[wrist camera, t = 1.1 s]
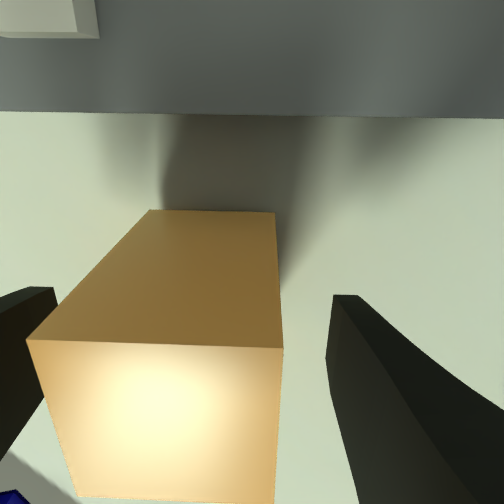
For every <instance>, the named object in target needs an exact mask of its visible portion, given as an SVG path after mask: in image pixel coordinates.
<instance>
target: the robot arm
mask: <svg viewBox="0 0 504 504" xmlns="http://www.w3.org/2000/svg"><path fill="white" fill-rule="evenodd" d="M57 306H58V303H57V300H56V296H55V292H54V288H53V287H31V286H30V287H27V288H24V289H21V290H18V291H15V292H12V293H10V294H7V295H5V296H2V297H0V461H1V459H2V458H3V456H4V455H5V454H6V452H7V451H8V449H9V448H10V446H11V445H12V444H13V442H14V441H15V439H16V438H17V436H18V435H19V433H20V432H21V431H22V429H23V428H24V426H25V425H26V423H27V422H28V420H29V419H30V417H31V416H32V415H33V413H34V412H35V410H36V409H37V407H38V406H39V404H40V403H41V401H42V400H43V398H44V394H43V391H42V388H41V384H40V381H39V378H38V375H37V372H36V369H35V366H34V363H33V360H32V357H31V354H30V351H29V348H28V345H27V342H26V339H27V338H28V337H29V336H30V335H31V334H32V332H33V331H34V330H35V329H36V328H37V327H38V326H39V325H40V324H41V323H42V322H43V321H44V320H45V319H46V318H47V317H48V316H49V315H50V314H51V313H52V311H53V310H54V309H55V308H56V307H57ZM325 359H326V366H327V373H328V380H329V387H330V394H331V398H332V402H333V406H334V409H335V413H336V417H337V421H338V424H339V428H340V432H341V436H342V439H343V443H344V447H345V450H346V454H347V458H348V461H349V465H350V469H351V472H352V476H353V480H354V483H355V487H356V492H357V496H358V500H359V504H504V410H503V409H501V408H500V407H498V406H497V405H495V404H494V403H492V402H491V401H489V400H488V399H486V398H485V397H483V396H482V395H480V394H479V393H477V392H476V391H474V390H473V389H471V388H470V387H469V386H467V385H466V384H464V383H463V382H462V381H460V380H459V379H457V378H456V377H455V376H453V375H452V374H451V373H450V372H448V371H447V370H446V369H444V368H443V367H442V366H440V365H439V364H438V363H436V362H435V361H434V360H433V359H431V358H430V357H429V356H428V355H426V354H425V353H424V352H423V351H421V350H420V349H419V348H418V347H417V346H415V345H414V344H413V343H412V342H411V341H409V340H408V339H407V338H406V337H405V336H404V335H402V334H401V333H400V332H399V331H398V330H397V329H395V328H394V327H393V326H392V325H391V324H390V323H389V322H388V321H386V320H385V319H384V318H383V317H382V316H381V315H380V314H379V313H378V312H376V311H375V310H374V309H373V308H372V307H371V306H370V305H369V304H368V303H366V302H365V301H364V300H363V299H362V298H361V297H359V296H358V295H333V302H332V310H331V318H330V326H329V334H328V341H327V349H326V357H325Z"/></svg>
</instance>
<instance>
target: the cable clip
mask: <svg viewBox="0 0 504 504" xmlns="http://www.w3.org/2000/svg"><path fill="white" fill-rule="evenodd" d="M0 504H31V503H30V502H28V501H27V499H26V498H25V497H24V496H23V495H22V494H21V493H20V492H19V491H18V490H16V489H14V490H9V491H5V492H0Z"/></svg>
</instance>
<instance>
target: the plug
mask: <svg viewBox="0 0 504 504" xmlns="http://www.w3.org/2000/svg"><path fill="white" fill-rule="evenodd" d="M26 342H27V345H28V348H29V351H30V354H31V357H32V360H33V363H34V366H35V369H36V372H37V375H38V378H39V381H40V384H41V388H42V391H43V394H44V397H45V400H46V403H47V406H48V409H49V412H50V415H51V418H52V421H53V424H54V427H55V430H56V433H57V436H58V440H59V443H60V446H61V449H62V452H63V455H64V458H65V461H66V464H67V467H68V470H69V473H70V476H71V479H72V482H73V485H74V488H75V492H76V495H77V497H98V498H119V499H140V500H161V501H182V502H203V503H224V504H274V493H275V477H276V461H277V445H278V429H279V413H280V397H281V381H282V365H283V349H284V348H283V332H282V317H281V301H280V285H279V269H278V254H277V238H276V222H275V212H234V211H190V210H149V211H148V212H147V213H146V214H145V215H144V216H143V217H142V218H141V219H140V220H139V221H138V222H137V223H136V224H135V225H134V226H133V227H132V229H131V230H130V231H129V232H128V233H127V234H126V235H125V236H124V237H123V238H122V239H121V240H120V241H119V242H118V243H117V244H116V245H115V246H114V247H113V248H112V250H111V251H110V252H109V253H108V254H107V255H106V256H105V257H104V258H103V259H102V260H101V261H100V262H99V263H98V264H97V265H96V266H95V267H94V268H93V269H92V271H91V272H90V273H89V274H88V275H87V276H86V277H85V278H84V279H83V280H82V281H81V282H80V283H79V284H78V285H77V286H76V287H75V288H74V289H73V290H72V292H71V293H70V294H69V295H68V296H67V297H66V298H65V299H64V300H63V301H62V302H61V303H60V304H59V305H58V306H57V307H56V308H55V309H54V310H53V311H52V313H51V314H50V315H49V316H48V317H47V318H46V319H45V320H44V321H43V322H42V323H41V324H40V325H39V326H38V327H37V328H36V329H35V330H34V331H33V332H32V334H31V335H30V336H29V337H28V338H27V339H26Z"/></svg>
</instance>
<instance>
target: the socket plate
mask: <svg viewBox="0 0 504 504" xmlns="http://www.w3.org/2000/svg"><path fill="white" fill-rule="evenodd" d="M0 111H16V112H83V113H150V114H217V115H284V116H351V117H418V118H485V119H504V0H0Z"/></svg>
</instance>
